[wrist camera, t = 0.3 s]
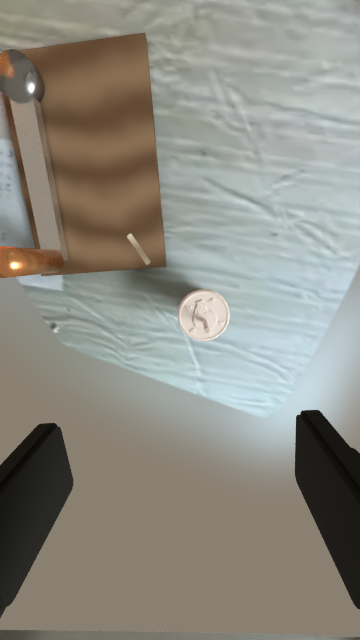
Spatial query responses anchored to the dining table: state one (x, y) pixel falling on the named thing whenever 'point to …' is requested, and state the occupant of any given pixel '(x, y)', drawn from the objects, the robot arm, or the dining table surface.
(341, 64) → the dining table surface
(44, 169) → the lever
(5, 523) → the robot arm
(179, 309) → the smoothie
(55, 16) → the dining table surface
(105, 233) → the lever base
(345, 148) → the dining table surface
